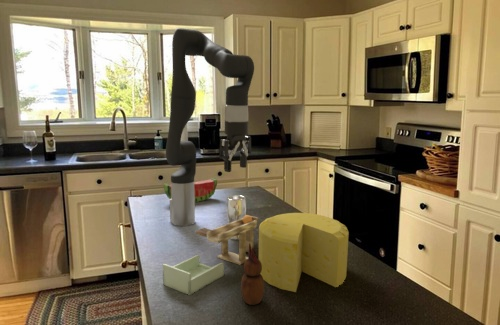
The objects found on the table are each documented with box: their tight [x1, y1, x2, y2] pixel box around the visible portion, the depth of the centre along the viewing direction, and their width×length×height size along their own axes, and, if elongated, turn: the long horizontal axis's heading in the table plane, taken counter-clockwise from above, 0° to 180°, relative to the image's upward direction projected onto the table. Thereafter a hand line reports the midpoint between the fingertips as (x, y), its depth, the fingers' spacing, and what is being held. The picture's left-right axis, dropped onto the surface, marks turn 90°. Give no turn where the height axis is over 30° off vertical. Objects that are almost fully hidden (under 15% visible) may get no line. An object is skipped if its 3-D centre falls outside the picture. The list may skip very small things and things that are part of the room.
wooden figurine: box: [240, 243, 265, 306], centre depth 101 cm, size 7×6×15 cm
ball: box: [243, 214, 252, 224], centre depth 133 cm, size 3×3×3 cm
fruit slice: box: [163, 177, 218, 204], centre depth 193 cm, size 26×6×10 cm, turn 123°
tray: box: [162, 254, 225, 296], centre depth 113 cm, size 10×14×6 cm
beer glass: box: [226, 194, 247, 241], centre depth 146 cm, size 7×7×15 cm
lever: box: [195, 214, 259, 244], centre depth 129 cm, size 20×11×3 cm, turn 145°
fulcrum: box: [216, 228, 254, 266], centre depth 130 cm, size 12×9×10 cm
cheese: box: [258, 212, 350, 293], centre depth 119 cm, size 26×26×15 cm
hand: (235, 169), depth 130 cm, fingers open, 8 cm apart
